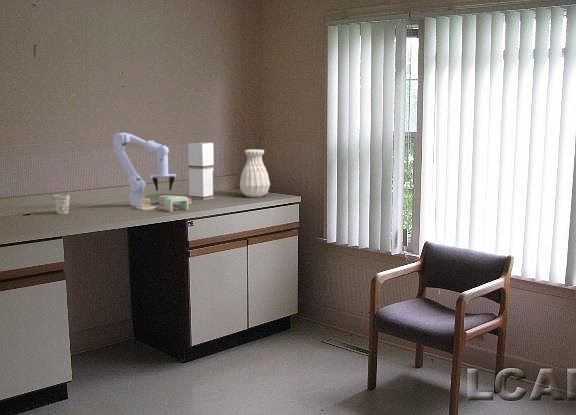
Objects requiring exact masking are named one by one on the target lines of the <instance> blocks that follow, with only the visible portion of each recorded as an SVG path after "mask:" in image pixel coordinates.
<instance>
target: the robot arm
mask: <svg viewBox="0 0 576 415" xmlns="http://www.w3.org/2000/svg"><path fill="white" fill-rule="evenodd" d="M112 138H113V139H112V142H113V152H114V154H115V155H116V157H117V159H118V161H119V163H120V165H121V167H122V168H123V171H124V172H125V174H126V175H127V177H128V184H129V189H130V193H129V195H128V202H129V206H132V207H136V206H141V199H146V198H145V187H146V184H147V183H146V182H145V180H144V179H143V178H141V176H140V175H139V174H138V173H137V171H136V169H135V167H134V165H133V163H132V161H131V160H130V158H129V157H128V155H127V153H126V152H125V148H126V146H127V145H128V144H129V143H134V144H137V145H140V146H142V147H144V148H145V150H146V151H149V152H150V153H153V154H156V155H157V173H156V174H150V175H149V176H150V179H151V180H152V182H153V184H154V188H155V191H156V192H158V191H159V186H158V182H159V180H158V179H166V178H167V179H168V181H169V185H168V187H169V190H168V191H172V187H173V184H174V183H175V182H174V181H175V179H176V178H177V174H176V173H169V159H168V158H169V157H168V154H169V153H170V149H169V147H168V146H166V145H164V144H163V145H162V144H161V143H157V142H155V140H152V139H151V140H147V141H146V140H145V139H142V138H140V137H139V136H137V135H134V134H132V133H128V132H125V131H124V132H117V133H115V134H114V136H113V137H112Z"/></svg>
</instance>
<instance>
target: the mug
mask: <svg viewBox="0 0 576 415" xmlns="http://www.w3.org/2000/svg"><path fill="white" fill-rule="evenodd" d="M70 196H71V195H70V194H69V193H58V194H54V195H53V199H54V201H53V202H54V207H55V211H56V214H57V215H66V214H69V211H70V210H69V209H70V200H71V199H70Z"/></svg>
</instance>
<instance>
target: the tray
mask: <svg viewBox="0 0 576 415" xmlns="http://www.w3.org/2000/svg"><path fill="white" fill-rule="evenodd" d="M155 206H156V205H150V207H148V208H141V206H135V208H136V209H135V210H137V209H140V210H139V211H141V210H151V209H155V208H156V207H155Z"/></svg>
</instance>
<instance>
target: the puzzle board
mask: <svg viewBox="0 0 576 415" xmlns="http://www.w3.org/2000/svg"><path fill="white" fill-rule="evenodd" d="M154 206H155V207H156V208H155V209H151V210H140V209H136V207H133V210H138V211H140V212H146V213H150V214H163V213H171V211H168V210H164V204H158V205H154ZM178 211H187V210H186V209H182V208H180V205H172V212H178Z"/></svg>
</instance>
